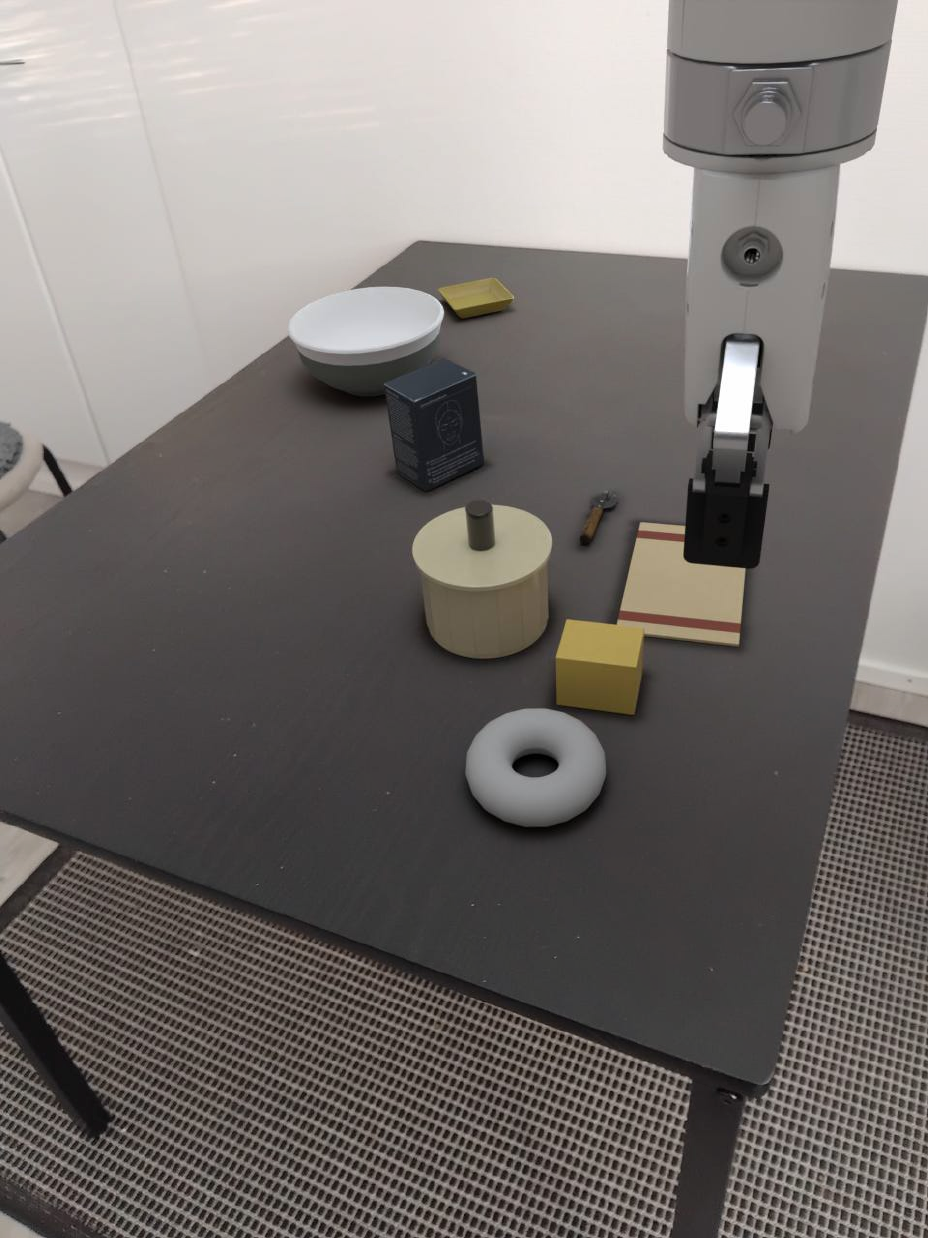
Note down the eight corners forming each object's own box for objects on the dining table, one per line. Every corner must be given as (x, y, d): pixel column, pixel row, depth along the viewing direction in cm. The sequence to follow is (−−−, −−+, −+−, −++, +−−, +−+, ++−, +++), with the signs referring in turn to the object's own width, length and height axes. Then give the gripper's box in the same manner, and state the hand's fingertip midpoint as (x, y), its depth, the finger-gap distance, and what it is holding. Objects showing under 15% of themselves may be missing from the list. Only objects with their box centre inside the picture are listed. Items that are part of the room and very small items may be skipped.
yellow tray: (437, 301, 139) (436, 287, 137) (495, 290, 140) (494, 276, 139) (455, 324, 132) (454, 309, 131) (515, 312, 134) (515, 297, 132)
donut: (635, 781, 70) (535, 709, 76) (637, 748, 67) (534, 677, 73) (536, 864, 65) (437, 780, 71) (535, 832, 63) (433, 749, 69)
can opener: (589, 546, 91) (589, 535, 90) (566, 541, 92) (566, 530, 91) (622, 496, 97) (622, 486, 96) (599, 492, 98) (600, 482, 97)
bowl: (412, 425, 112) (404, 357, 106) (271, 407, 118) (257, 342, 112) (472, 354, 125) (467, 291, 119) (342, 341, 131) (332, 280, 125)
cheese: (641, 675, 78) (644, 627, 74) (634, 715, 74) (636, 667, 71) (567, 666, 79) (566, 618, 76) (556, 705, 76) (555, 657, 73)
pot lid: (548, 510, 84) (546, 464, 81) (557, 593, 75) (556, 545, 72) (416, 519, 85) (410, 473, 82) (410, 602, 76) (403, 554, 73)
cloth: (748, 533, 91) (748, 531, 91) (738, 647, 79) (739, 644, 79) (640, 524, 93) (640, 521, 93) (615, 632, 82) (615, 629, 82)
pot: (544, 577, 88) (542, 508, 83) (552, 655, 80) (550, 583, 75) (429, 584, 89) (421, 516, 84) (425, 662, 81) (416, 591, 76)
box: (453, 446, 107) (445, 355, 101) (485, 465, 104) (478, 373, 97) (394, 472, 104) (381, 381, 97) (425, 493, 100) (413, 400, 94)
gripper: (893, 172, 28) (809, 627, 39) (874, 45, 40) (815, 416, 51) (629, 175, 30) (620, 607, 41) (689, 52, 42) (670, 408, 53)
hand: (729, 500), depth 46 cm, fingers open, 9 cm apart
